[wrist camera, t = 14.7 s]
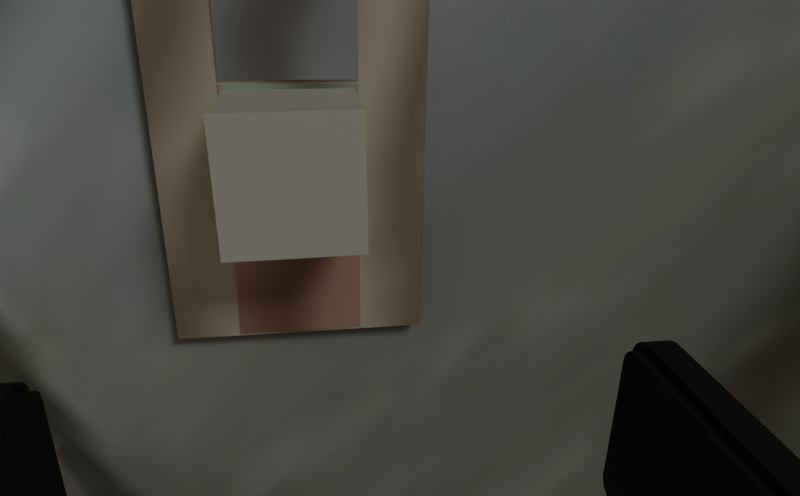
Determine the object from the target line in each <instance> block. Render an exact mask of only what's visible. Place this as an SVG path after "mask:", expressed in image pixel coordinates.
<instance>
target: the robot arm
mask: <svg viewBox="0 0 800 496" xmlns="http://www.w3.org/2000/svg"><path fill="white" fill-rule="evenodd" d="M603 483H604V488H605V491H606V494H607V496H800V459H799V458H798V457H797V456H796V455H794V454H793V453H792V452H791V451H790V450H789V449H788V448H787V447H786V446H785V445H784V444H783V443H782V442H781V441H780V440H779V439H778V438H776V437H775V436H774V435H773V434H772V433H771V432H770V431H769V430H768V429H767V428H766V427H765V426H764V425H763V424H762V423H761V422H760V421H759V420H757V419H756V418H755V417H754V416H753V415H752V414H751V413H750V412H749V411H748V410H747V409H746V408H745V407H744V406H743V405H742V404H741V403H740V402H738V401H737V400H736V399H735V398H734V397H733V396H732V395H731V394H730V393H729V392H728V391H727V390H726V389H725V388H724V387H723V386H722V385H721V384H719V383H718V382H717V381H716V380H715V379H714V378H713V377H712V376H711V375H710V374H709V373H708V372H707V371H706V370H705V369H704V368H703V367H702V366H700V365H699V364H698V363H697V362H696V361H695V360H694V359H693V358H692V357H691V356H690V355H689V354H688V353H687V352H686V351H685V350H684V349H683V348H681V347H680V346H679V345H678V344H677V343H676V342H674V341H669V340H668V341H652V342H639V343H638V344H636V345H635V347H634V348H633V351H630V352H628V353H627V354H626V355H625V357H624V361H623V367H622V372H621V378H620V383H619V389H618V395H617V400H616V406H615V411H614V417H613V423H612V428H611V434H610V440H609V445H608V451H607V456H606V462H605V468H604V473H603ZM0 496H67V495H66V491H65V487H64V484H63V479H62V475H61V471H60V468H59V463H58V460H57V456H56V452H55V448H54V444H53V440H52V436H51V432H50V428H49V424H48V420H47V416H46V412H45V408H44V404H43V400H42V397H41V395H40V393H39V392H38V391H29V388H28V387H27V385H26V384H25V383H23V382H10V383H0Z"/></svg>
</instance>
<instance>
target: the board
mask: <svg viewBox="0 0 800 496" xmlns="http://www.w3.org/2000/svg"><path fill="white" fill-rule="evenodd" d="M131 6H132V13H133V20H134V27H135V34H136V41H137V49H138V56H139V63H140V70H141V77H142V84H143V91H144V98H145V106H146V113H147V120H148V127H149V134H150V141H151V148H152V156H153V163H154V170H155V177H156V184H157V191H158V198H159V205H160V213H161V220H162V227H163V234H164V241H165V248H166V255H167V263H168V270H169V277H170V284H171V291H172V298H173V305H174V312H175V320H176V327H177V334H178V339H189V338H206V337H222V336H239V335H255V334H272V333H288V332H304V331H321V330H337V329H354V328H370V327H387V326H403V325H419V306H420V274H421V243H422V211H423V179H424V147H425V115H426V83H427V52H428V20H429V0H131ZM325 88H354V90H355V92H356V94H357V95H358V97H359V99H360V101H361V102H362V104H363V106H364V108H365V109H366V151H367V202H368V253H369V255H352V256H334V257H316V258H299V259H281V260H264V261H246V262H228V263H221V259H220V251H219V242H218V234H217V226H216V217H215V209H214V201H213V192H212V184H211V176H210V167H209V159H208V151H207V143H206V134H205V126H204V118H203V113H204V112H205V111H206V109H207V108H208V107H209V106H210V105H211V103H212V102H213V101H214V100H215V98H216V97H217V96H218V95H219V94H220V92H221V91H222V90H272V89H325Z"/></svg>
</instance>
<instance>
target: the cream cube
mask: <svg viewBox="0 0 800 496" xmlns="http://www.w3.org/2000/svg"><path fill="white" fill-rule="evenodd" d="M203 118H204V126H205V134H206V143H207V151H208V159H209V167H210V176H211V184H212V192H213V201H214V209H215V217H216V226H217V234H218V242H219V251H220V259H221V263H228V262H246V261H264V260H281V259H299V258H316V257H334V256H352V255H369V253H368V202H367V151H366V109H365V108H364V106H363V104H362V102H361V101H360V99H359V97H358V95H357V94H356V92H355V90H354V88H325V89H272V90H222V91H221V92H220V94H219V95H218V96H217V97H216V98H215V100H214V101H213V102H212V103H211V105H210V106H209V107H208V108H207V109H206V111H205V112H204V113H203Z"/></svg>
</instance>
